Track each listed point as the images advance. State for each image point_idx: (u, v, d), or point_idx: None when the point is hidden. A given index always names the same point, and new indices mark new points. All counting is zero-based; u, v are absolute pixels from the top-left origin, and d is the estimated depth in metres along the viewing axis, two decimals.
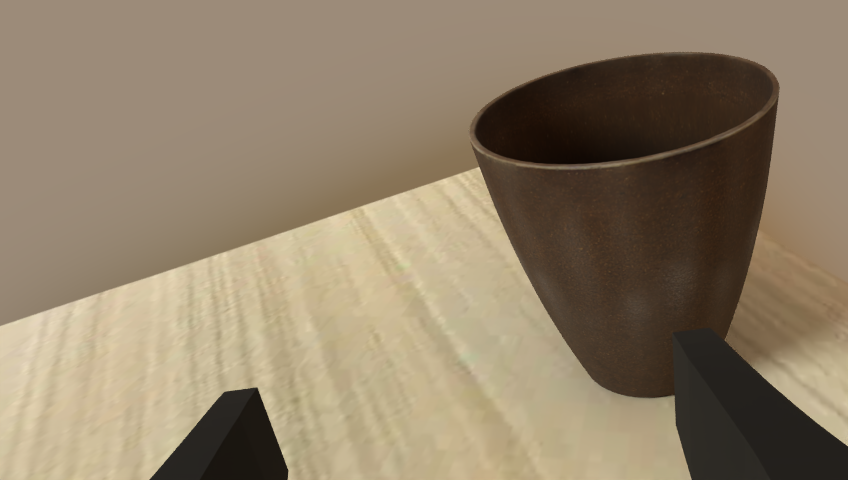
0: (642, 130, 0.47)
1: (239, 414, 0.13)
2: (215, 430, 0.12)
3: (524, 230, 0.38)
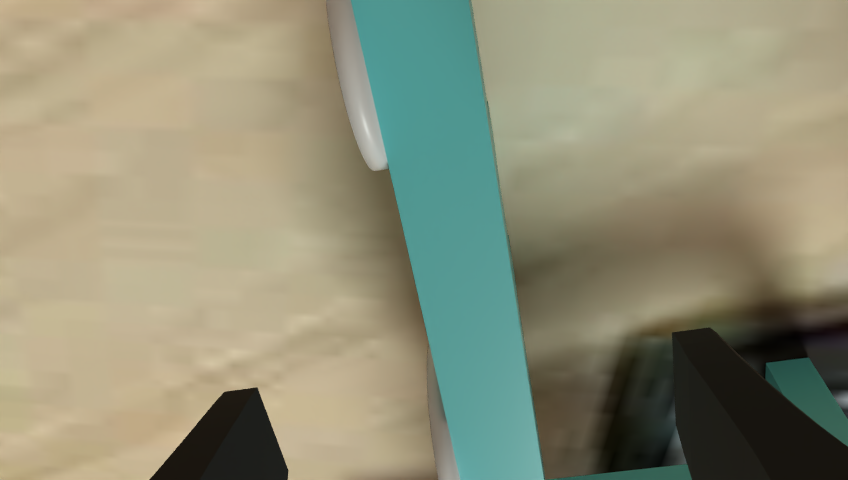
0: None
1: (239, 414, 0.13)
2: (215, 430, 0.12)
3: None
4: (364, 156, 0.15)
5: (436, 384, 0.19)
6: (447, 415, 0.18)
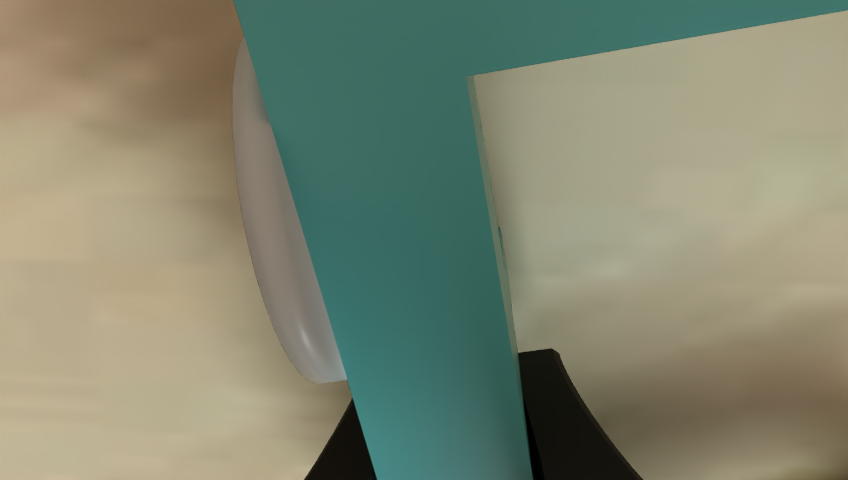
0: None
1: None
2: None
3: None
4: (309, 378, 0.09)
5: None
6: None
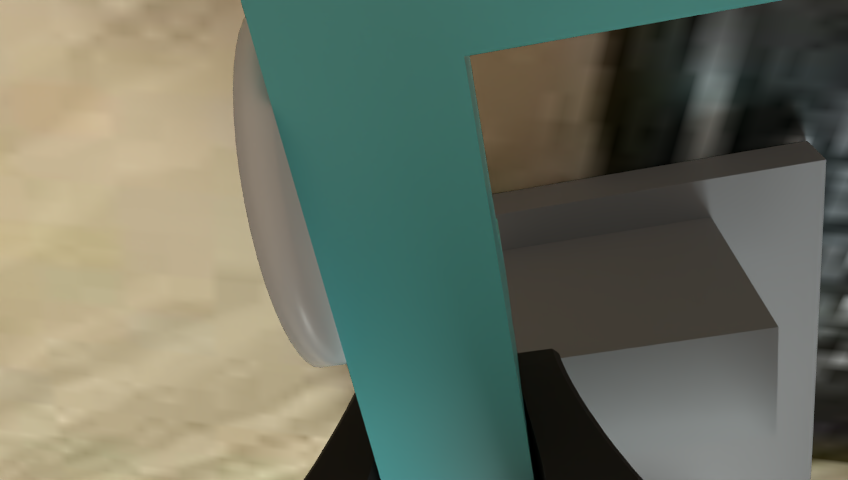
0: None
1: None
2: None
3: None
4: (308, 360, 0.09)
5: None
6: None
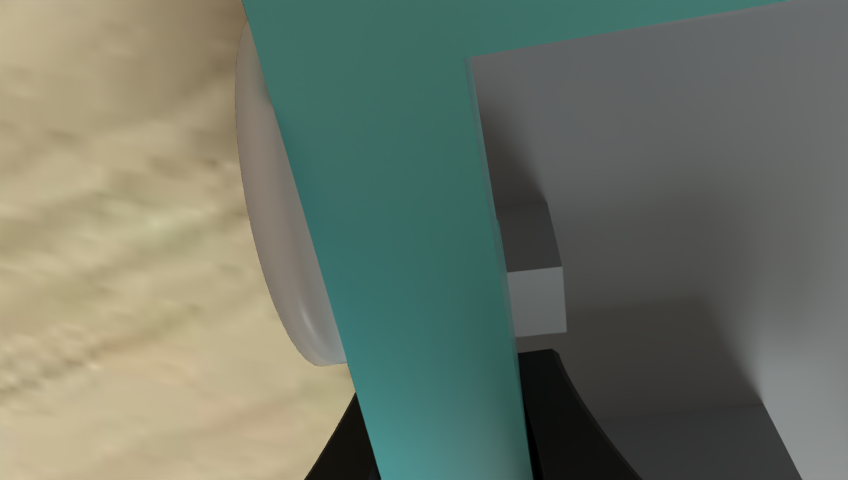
0: None
1: None
2: None
3: None
4: (309, 359, 0.09)
5: None
6: None
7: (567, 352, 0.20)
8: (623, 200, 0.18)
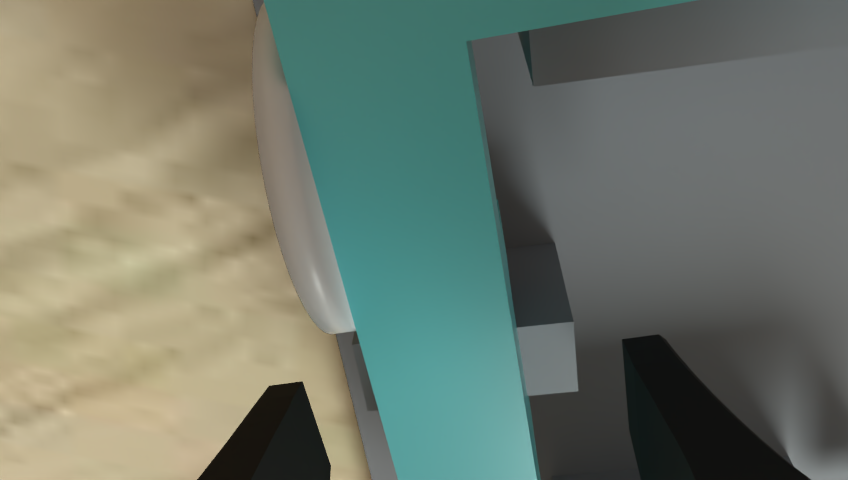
0: None
1: (288, 408, 0.13)
2: (265, 424, 0.12)
3: None
4: (320, 326, 0.10)
5: None
6: None
7: (575, 401, 0.19)
8: (638, 240, 0.16)
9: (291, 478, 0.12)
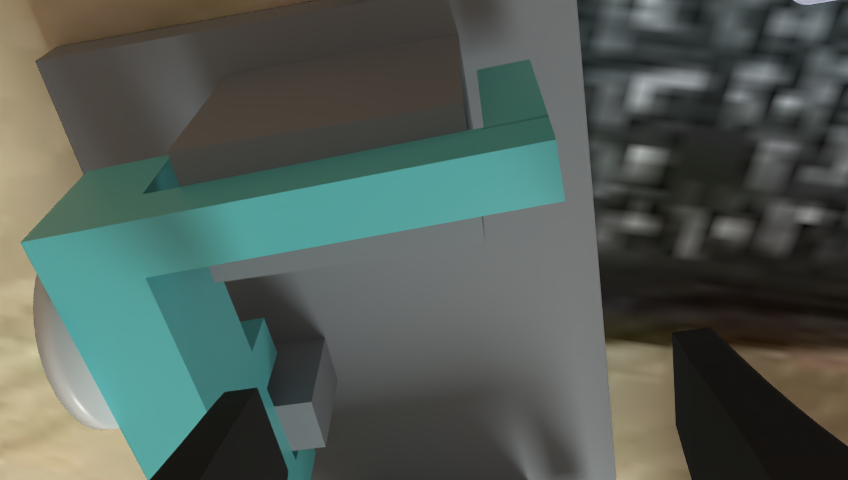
0: None
1: (239, 414, 0.13)
2: (215, 430, 0.12)
3: None
4: (94, 428, 0.17)
5: None
6: None
7: (363, 446, 0.25)
8: (383, 335, 0.23)
9: None
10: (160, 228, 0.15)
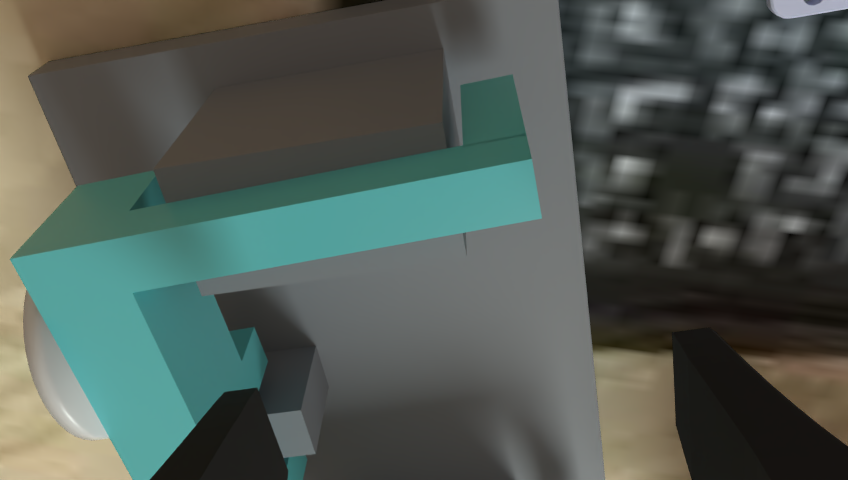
0: None
1: (239, 414, 0.13)
2: (215, 430, 0.12)
3: None
4: (84, 438, 0.17)
5: None
6: None
7: (355, 452, 0.26)
8: (373, 343, 0.23)
9: None
10: (146, 245, 0.15)
